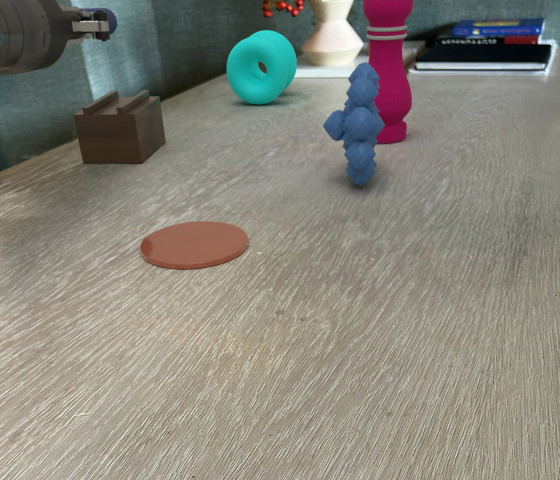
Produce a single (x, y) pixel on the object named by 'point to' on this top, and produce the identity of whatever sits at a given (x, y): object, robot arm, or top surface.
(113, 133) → the block
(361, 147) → the grapes
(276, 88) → the donuts
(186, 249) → the coaster
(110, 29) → the marker
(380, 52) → the pepper mill
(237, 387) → the top surface
